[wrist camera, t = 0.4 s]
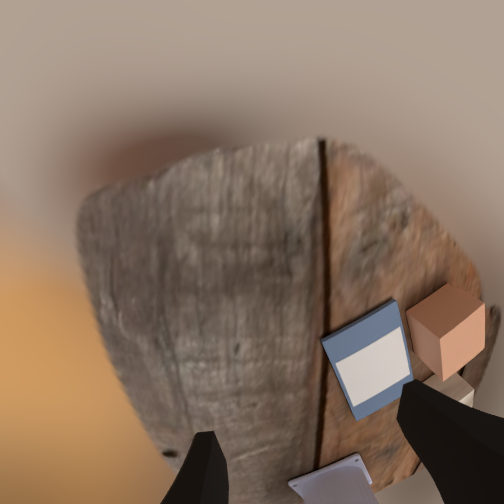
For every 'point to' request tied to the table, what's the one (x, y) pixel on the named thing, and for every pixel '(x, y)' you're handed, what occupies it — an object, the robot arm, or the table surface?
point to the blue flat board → (371, 359)
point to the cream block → (453, 388)
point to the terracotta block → (447, 329)
